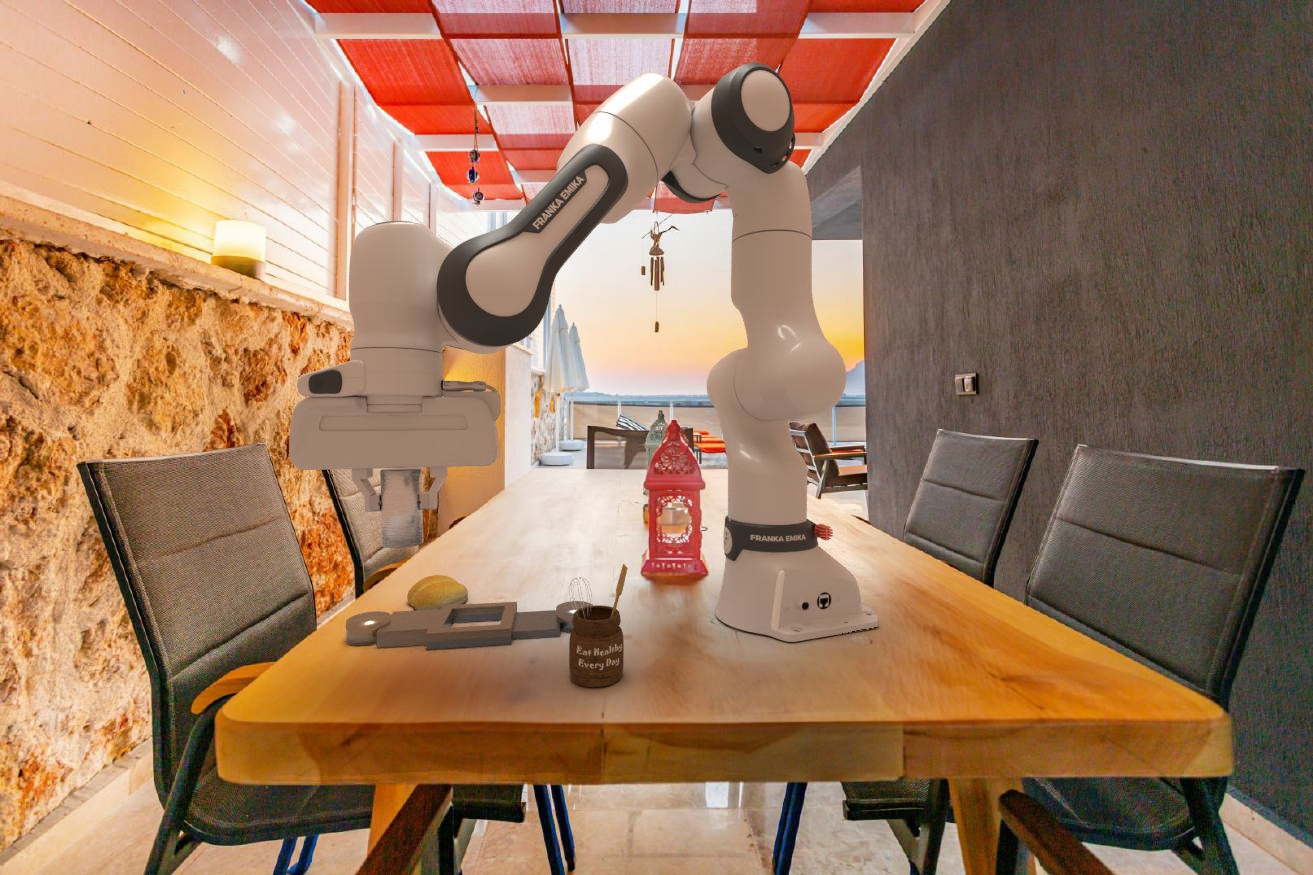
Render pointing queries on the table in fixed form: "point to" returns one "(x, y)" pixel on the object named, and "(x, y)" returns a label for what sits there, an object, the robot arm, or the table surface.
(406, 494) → the steel pin
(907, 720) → the table surface
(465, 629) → the upper chain link
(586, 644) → the utensil holder
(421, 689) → the table surface
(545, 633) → the lower chain link
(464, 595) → the bread roll
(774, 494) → the robot arm
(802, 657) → the table surface
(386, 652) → the table surface
